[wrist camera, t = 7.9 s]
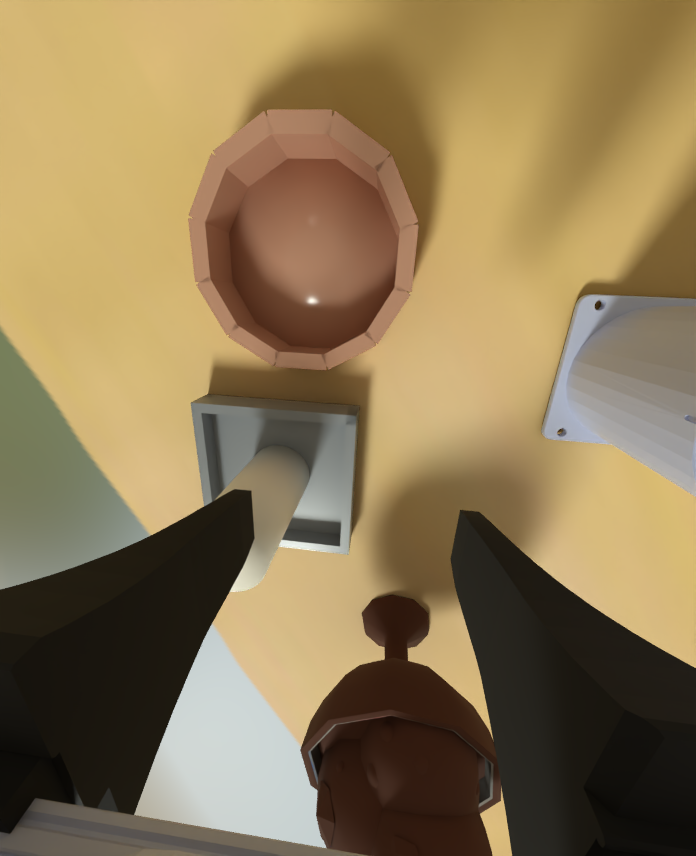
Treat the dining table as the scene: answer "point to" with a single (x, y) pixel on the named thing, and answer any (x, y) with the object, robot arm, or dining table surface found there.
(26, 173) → the dining table surface
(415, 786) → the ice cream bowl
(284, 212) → the terracotta bowl
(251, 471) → the peg
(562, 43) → the dining table surface
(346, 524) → the tray
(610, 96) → the dining table surface
